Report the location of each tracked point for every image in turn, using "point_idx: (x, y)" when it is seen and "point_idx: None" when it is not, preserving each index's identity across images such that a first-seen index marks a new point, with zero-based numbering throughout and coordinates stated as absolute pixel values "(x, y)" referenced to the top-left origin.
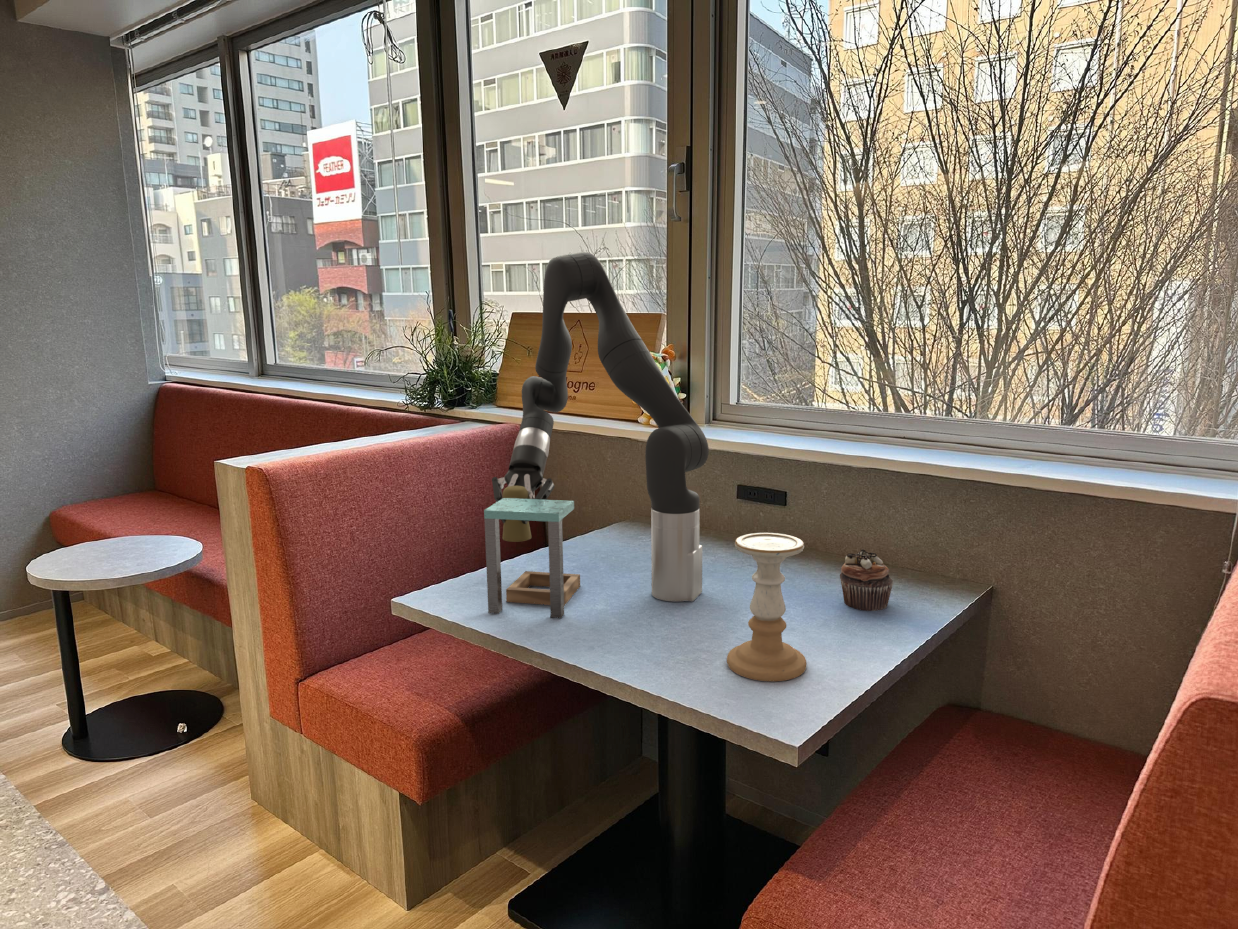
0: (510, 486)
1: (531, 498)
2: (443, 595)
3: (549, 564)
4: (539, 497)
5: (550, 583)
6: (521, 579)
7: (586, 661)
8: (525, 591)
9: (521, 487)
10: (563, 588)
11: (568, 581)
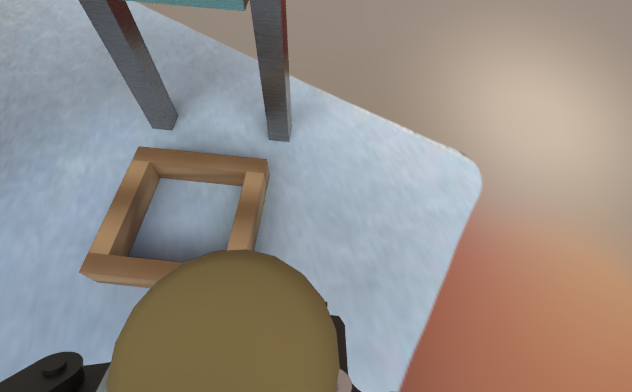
0: (264, 354)
1: (105, 374)
2: (413, 201)
3: (135, 24)
4: (31, 376)
5: (152, 63)
6: (241, 220)
7: (134, 12)
8: (223, 156)
9: (148, 336)
10: (130, 88)
11: (119, 215)
